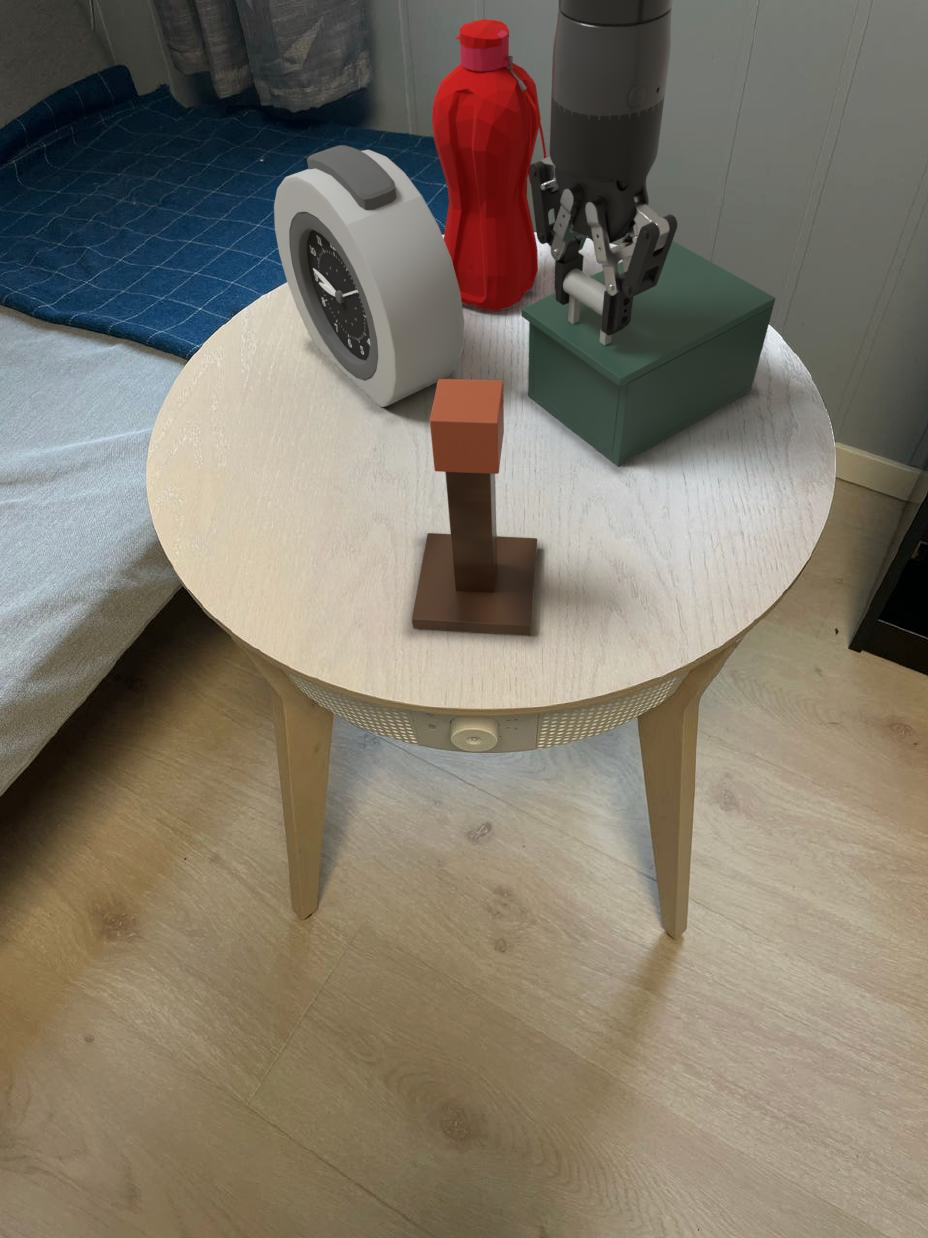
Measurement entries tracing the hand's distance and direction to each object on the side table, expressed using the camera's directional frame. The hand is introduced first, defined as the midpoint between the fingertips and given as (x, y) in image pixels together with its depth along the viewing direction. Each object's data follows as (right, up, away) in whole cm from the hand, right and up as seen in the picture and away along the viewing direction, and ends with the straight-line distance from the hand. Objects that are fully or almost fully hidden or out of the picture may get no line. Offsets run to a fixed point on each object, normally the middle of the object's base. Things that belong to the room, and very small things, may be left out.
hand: (590, 313), depth 70 cm
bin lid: (+6, +2, +4) cm, 7 cm away
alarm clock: (-19, +1, +17) cm, 25 cm away
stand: (-9, -23, -2) cm, 25 cm away
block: (-10, -14, -14) cm, 22 cm away
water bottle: (-7, +11, +23) cm, 26 cm away
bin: (+6, -4, +11) cm, 13 cm away
